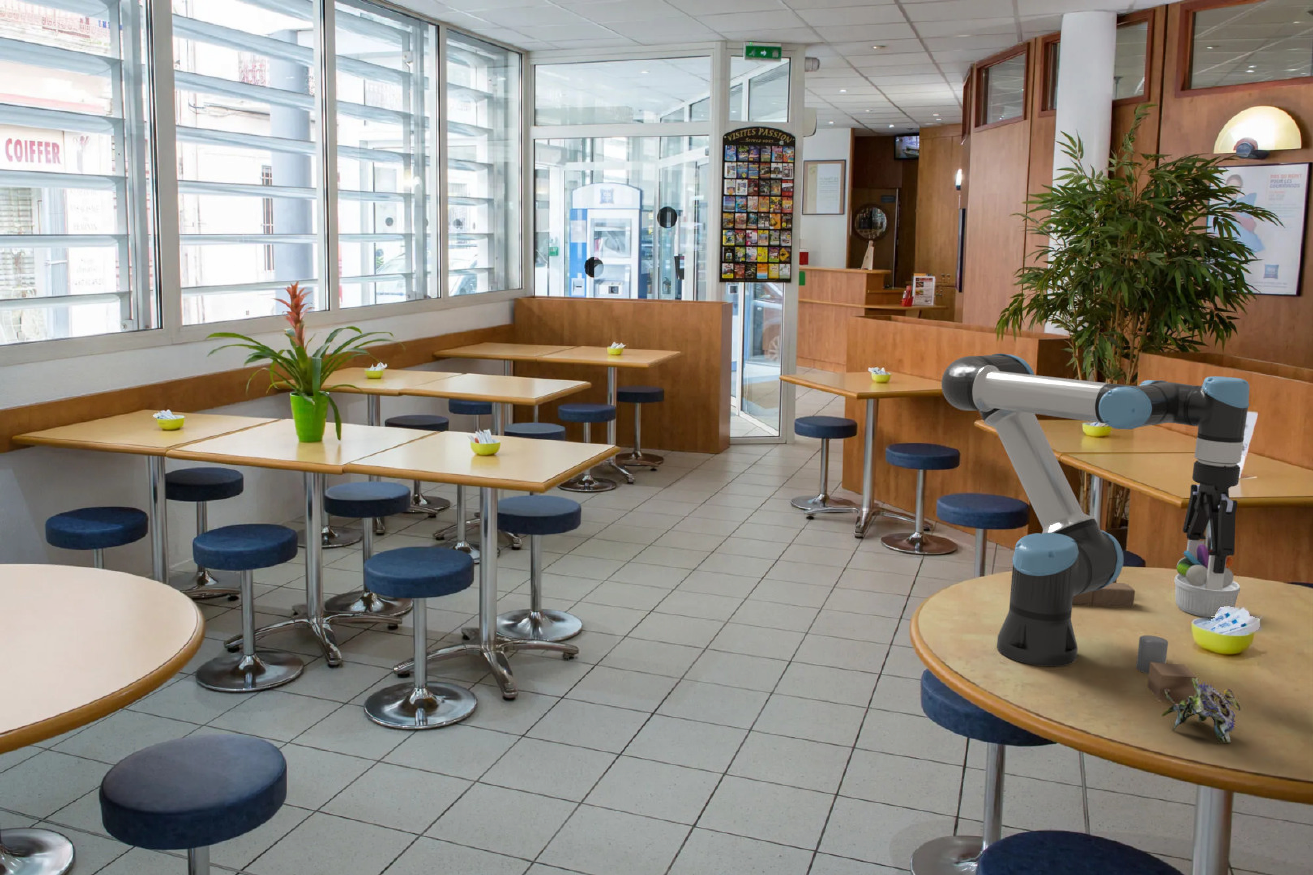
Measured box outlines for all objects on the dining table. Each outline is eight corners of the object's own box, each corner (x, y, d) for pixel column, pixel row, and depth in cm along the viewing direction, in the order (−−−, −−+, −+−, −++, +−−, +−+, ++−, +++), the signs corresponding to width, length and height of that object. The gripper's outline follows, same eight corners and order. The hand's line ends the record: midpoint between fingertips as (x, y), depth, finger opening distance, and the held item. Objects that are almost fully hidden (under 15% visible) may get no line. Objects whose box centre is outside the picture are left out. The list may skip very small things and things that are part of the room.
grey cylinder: (1141, 673, 203) (1145, 644, 202) (1132, 663, 208) (1135, 634, 207) (1168, 675, 203) (1172, 645, 202) (1158, 665, 208) (1161, 636, 207)
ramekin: (1246, 622, 234) (1249, 592, 233) (1182, 618, 236) (1185, 588, 235) (1224, 603, 247) (1227, 574, 245) (1164, 599, 249) (1167, 570, 247)
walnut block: (1158, 701, 191) (1161, 674, 190) (1147, 687, 197) (1150, 662, 196) (1193, 703, 191) (1196, 677, 190) (1181, 689, 197) (1184, 664, 196)
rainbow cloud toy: (1239, 592, 193) (1244, 553, 192) (1182, 587, 195) (1187, 549, 193) (1223, 578, 201) (1228, 540, 200) (1169, 573, 203) (1173, 536, 202)
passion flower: (1219, 771, 177) (1245, 736, 168) (1150, 747, 180) (1172, 712, 171) (1225, 715, 184) (1250, 678, 175) (1158, 693, 187) (1179, 656, 178)
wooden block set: (1140, 586, 241) (1058, 582, 242) (1137, 610, 242) (1056, 606, 243) (1114, 563, 257) (1038, 560, 259) (1112, 586, 258) (1036, 582, 260)
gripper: (1267, 475, 183) (1250, 600, 187) (1212, 451, 204) (1198, 565, 208) (1222, 473, 184) (1206, 598, 188) (1172, 450, 205) (1159, 563, 209)
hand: (1202, 581), depth 198 cm, fingers closed on rainbow cloud toy, 9 cm apart
